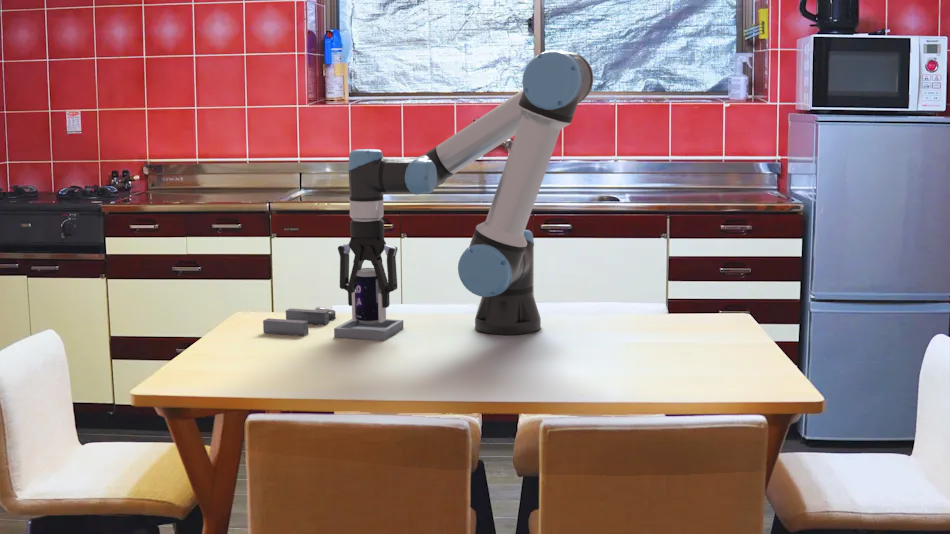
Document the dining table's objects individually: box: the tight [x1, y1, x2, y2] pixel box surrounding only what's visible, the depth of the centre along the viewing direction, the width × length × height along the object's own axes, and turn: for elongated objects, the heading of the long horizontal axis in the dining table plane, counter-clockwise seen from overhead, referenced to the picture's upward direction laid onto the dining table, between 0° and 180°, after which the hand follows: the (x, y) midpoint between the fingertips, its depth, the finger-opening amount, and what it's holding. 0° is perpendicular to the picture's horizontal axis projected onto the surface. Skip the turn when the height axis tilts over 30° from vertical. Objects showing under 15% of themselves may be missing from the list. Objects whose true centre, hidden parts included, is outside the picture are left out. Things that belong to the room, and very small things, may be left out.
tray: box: [333, 318, 404, 341], centre depth 249 cm, size 12×12×2 cm
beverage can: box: [355, 267, 381, 324], centre depth 248 cm, size 6×6×12 cm
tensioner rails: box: [262, 306, 337, 337], centre depth 258 cm, size 10×21×3 cm, turn 163°
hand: (369, 320), depth 249 cm, fingers closed on beverage can, 6 cm apart
